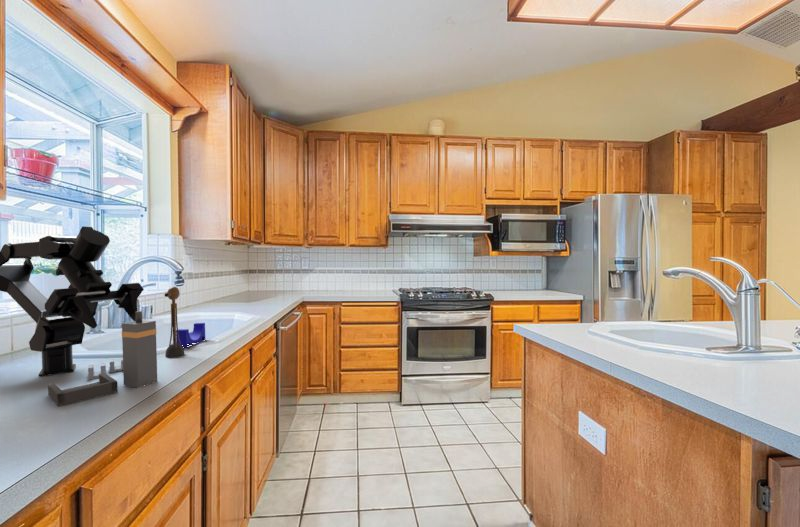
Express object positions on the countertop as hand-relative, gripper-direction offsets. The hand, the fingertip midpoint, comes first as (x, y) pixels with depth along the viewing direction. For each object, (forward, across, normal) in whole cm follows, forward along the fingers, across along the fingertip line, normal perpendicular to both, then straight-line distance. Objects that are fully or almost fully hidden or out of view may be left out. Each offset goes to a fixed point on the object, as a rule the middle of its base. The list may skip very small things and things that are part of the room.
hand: (116, 323), depth 87 cm
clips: (+5, -4, -14) cm, 16 cm away
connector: (+14, 0, -4) cm, 15 cm away
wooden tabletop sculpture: (+5, -20, -14) cm, 25 cm away
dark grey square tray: (+10, +8, -8) cm, 16 cm away
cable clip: (0, -32, -20) cm, 38 cm away
